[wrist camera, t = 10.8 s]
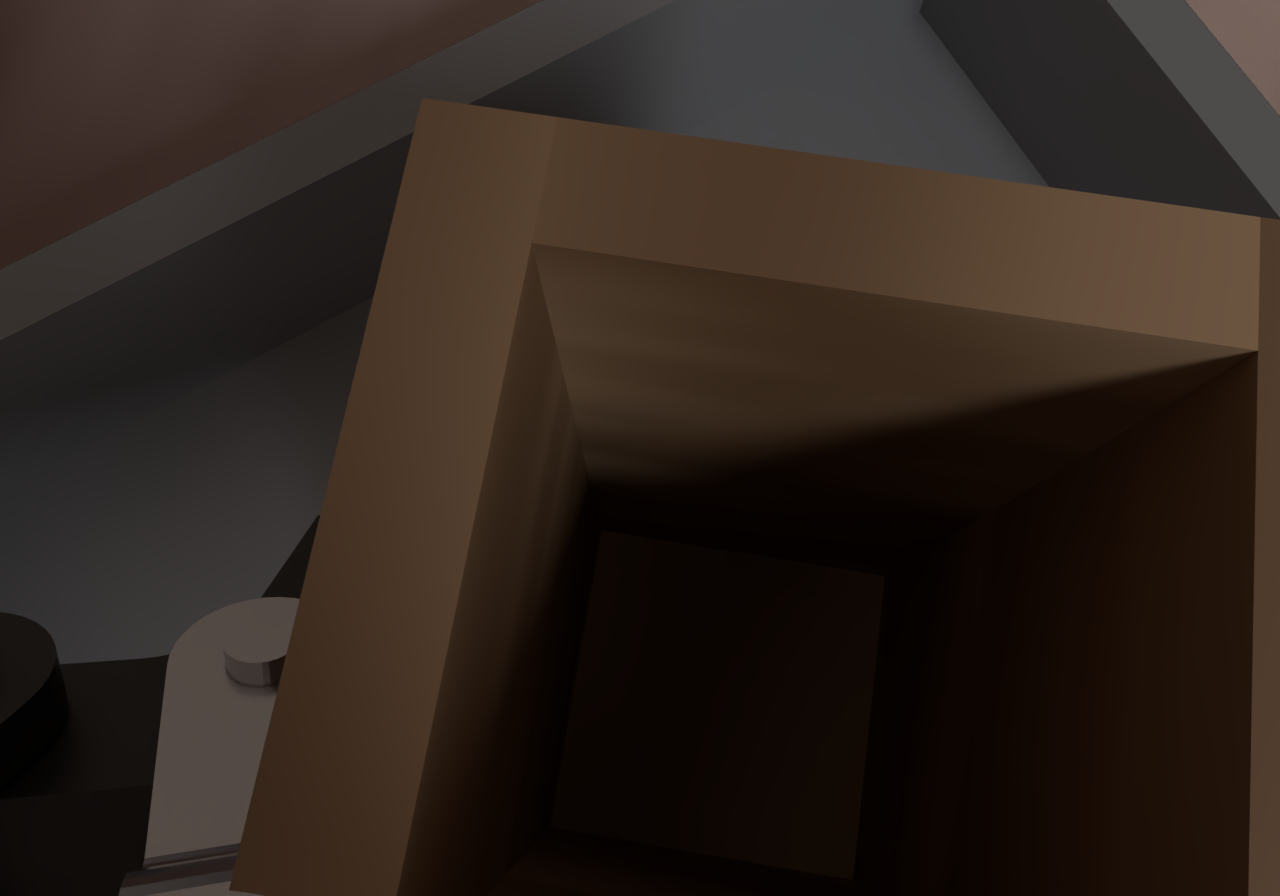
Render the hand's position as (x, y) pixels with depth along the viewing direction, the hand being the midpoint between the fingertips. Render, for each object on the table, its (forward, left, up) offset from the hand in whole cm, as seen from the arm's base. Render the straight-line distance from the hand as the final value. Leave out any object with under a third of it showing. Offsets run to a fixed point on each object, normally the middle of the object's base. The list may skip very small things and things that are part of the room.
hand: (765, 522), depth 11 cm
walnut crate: (+1, +1, -4) cm, 5 cm away
